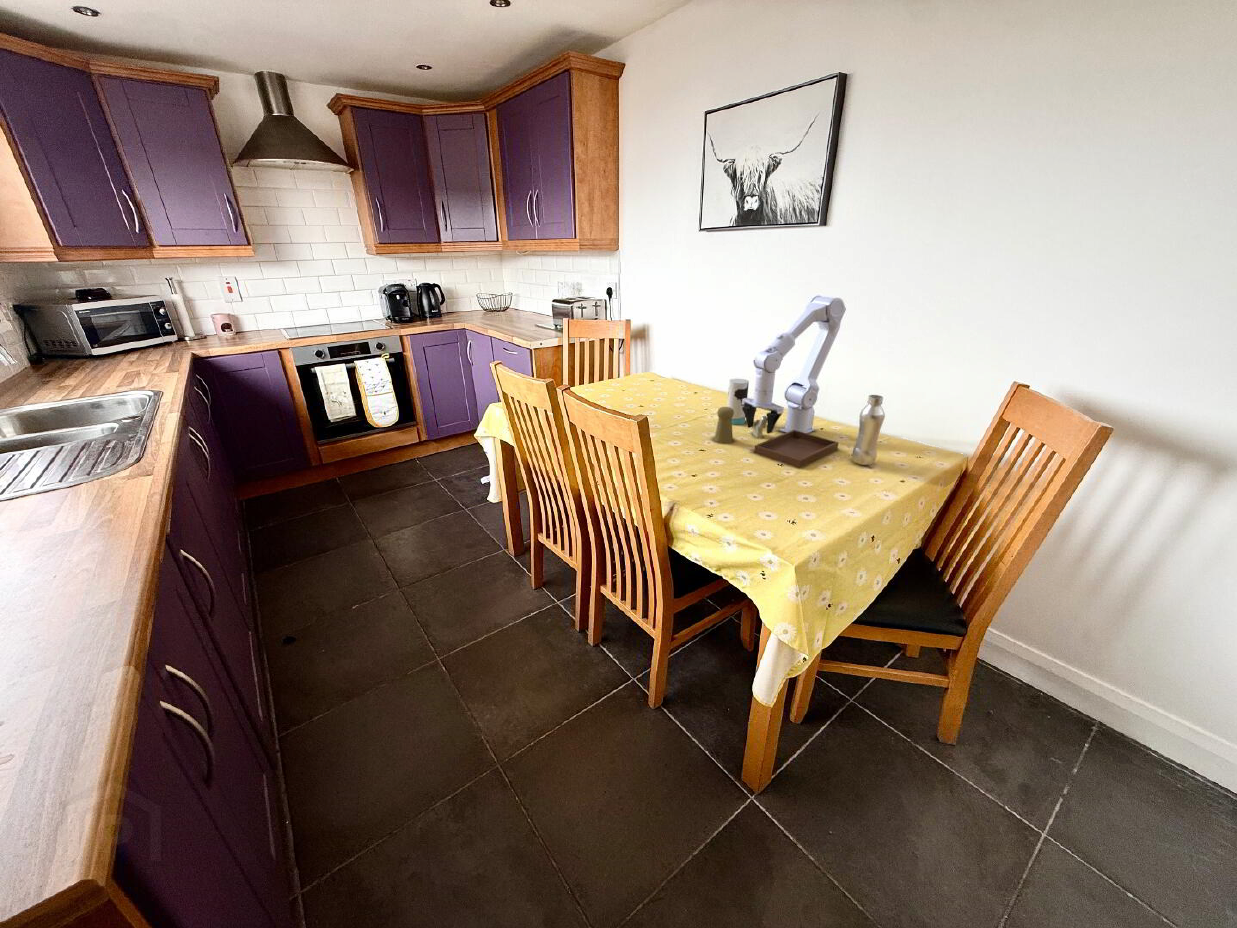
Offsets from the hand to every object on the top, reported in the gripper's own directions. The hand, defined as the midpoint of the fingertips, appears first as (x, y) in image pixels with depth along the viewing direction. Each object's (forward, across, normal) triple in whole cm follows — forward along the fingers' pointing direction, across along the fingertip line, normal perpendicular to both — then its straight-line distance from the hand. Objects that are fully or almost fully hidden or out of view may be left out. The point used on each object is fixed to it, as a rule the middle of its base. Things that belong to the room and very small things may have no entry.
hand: (759, 429), depth 165 cm
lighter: (+3, 0, 0) cm, 3 cm away
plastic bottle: (+3, +33, +4) cm, 33 cm away
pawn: (+3, -6, -11) cm, 13 cm away
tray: (+2, +15, -2) cm, 15 cm away
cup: (+3, -15, +7) cm, 17 cm away
